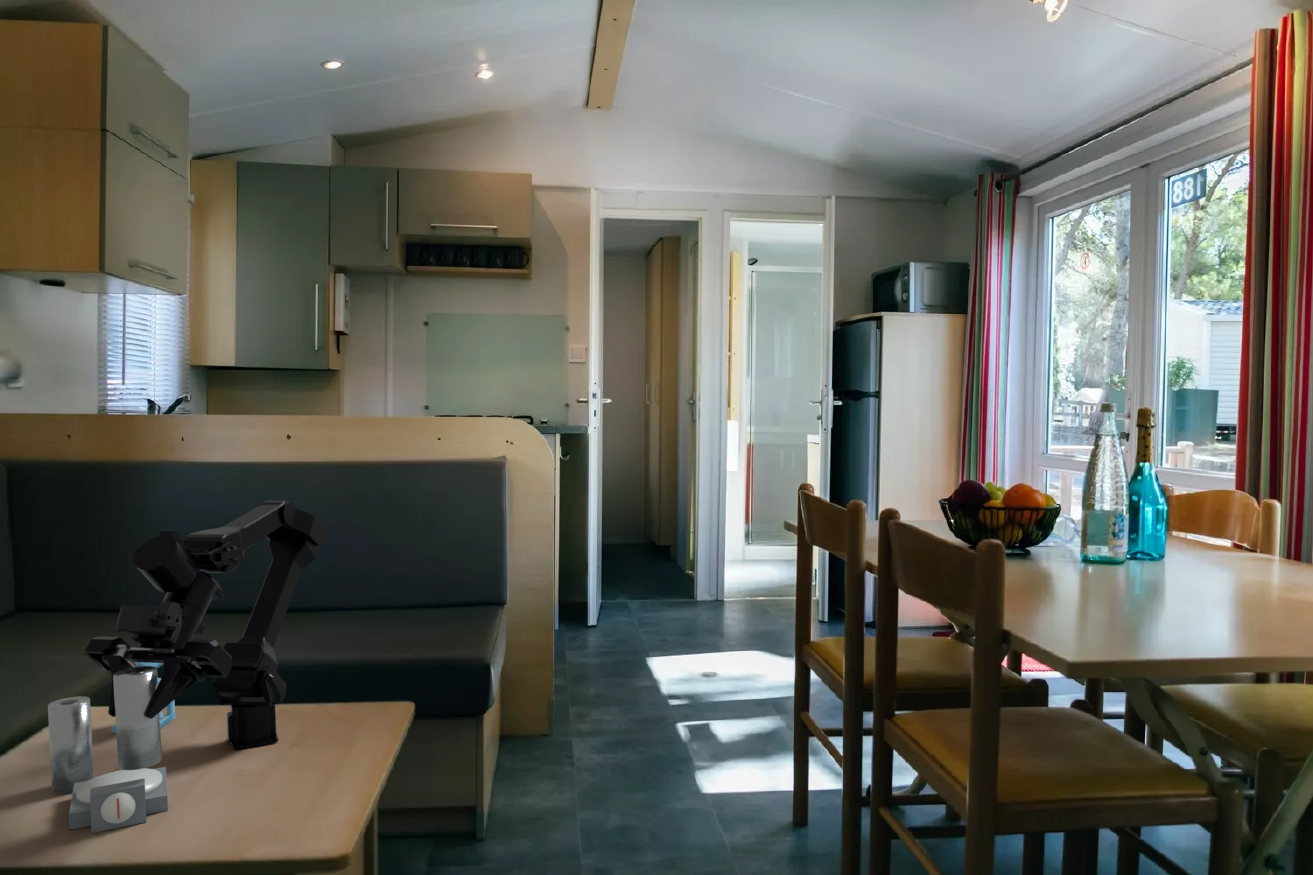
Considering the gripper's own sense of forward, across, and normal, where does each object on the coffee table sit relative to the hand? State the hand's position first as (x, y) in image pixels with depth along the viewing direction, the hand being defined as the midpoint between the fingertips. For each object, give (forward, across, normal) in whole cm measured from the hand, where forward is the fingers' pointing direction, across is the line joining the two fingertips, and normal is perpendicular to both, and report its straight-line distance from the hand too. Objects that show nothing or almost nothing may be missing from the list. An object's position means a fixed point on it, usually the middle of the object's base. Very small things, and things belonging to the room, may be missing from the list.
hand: (129, 716), depth 121 cm
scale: (+8, -4, +11) cm, 14 cm away
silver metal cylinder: (+4, 0, +6) cm, 7 cm away
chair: (-12, -22, +32) cm, 40 cm away
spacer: (+4, -16, +15) cm, 22 cm away
